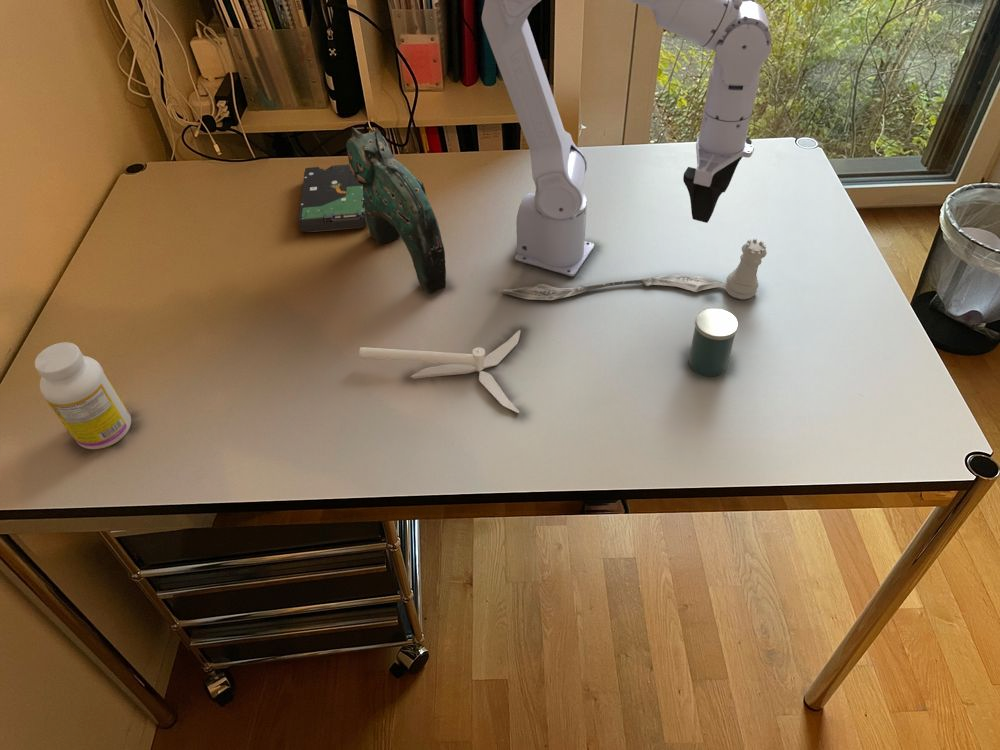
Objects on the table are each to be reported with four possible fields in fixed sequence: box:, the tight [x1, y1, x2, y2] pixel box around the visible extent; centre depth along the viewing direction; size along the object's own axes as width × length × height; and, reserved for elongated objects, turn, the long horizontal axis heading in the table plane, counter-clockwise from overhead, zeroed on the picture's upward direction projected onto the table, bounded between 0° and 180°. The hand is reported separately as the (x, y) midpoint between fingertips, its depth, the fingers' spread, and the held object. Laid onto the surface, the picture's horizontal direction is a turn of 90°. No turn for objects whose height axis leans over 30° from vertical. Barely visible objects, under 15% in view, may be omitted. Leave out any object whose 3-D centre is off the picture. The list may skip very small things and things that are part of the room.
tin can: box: [688, 307, 739, 377], centre depth 96 cm, size 5×5×7 cm
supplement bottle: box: [34, 341, 132, 450], centre depth 90 cm, size 7×7×13 cm
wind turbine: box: [358, 330, 522, 414], centre depth 99 cm, size 4×14×21 cm
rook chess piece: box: [723, 238, 768, 300], centre depth 104 cm, size 4×4×8 cm
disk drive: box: [298, 164, 368, 233], centre depth 125 cm, size 10×3×15 cm
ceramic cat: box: [345, 127, 447, 295], centre depth 108 cm, size 20×6×20 cm, turn 33°
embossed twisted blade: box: [498, 273, 725, 301], centre depth 108 cm, size 32×1×5 cm
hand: (709, 204), depth 104 cm, fingers open, 7 cm apart
